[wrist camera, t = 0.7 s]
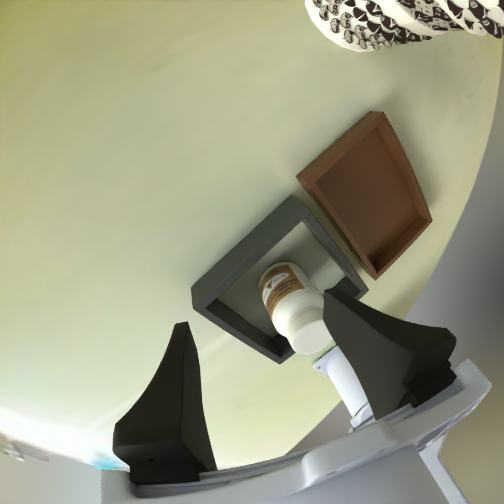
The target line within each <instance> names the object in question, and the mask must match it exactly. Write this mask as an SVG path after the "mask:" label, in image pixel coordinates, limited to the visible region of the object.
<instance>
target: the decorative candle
mask: <svg viewBox="0 0 504 504" xmlns="http://www.w3.org/2000/svg"><path fill="white" fill-rule="evenodd" d="M305 6H306V8H307V10H308V13H309V15H310V17H311V20H312V21H313V23H314V24H315V25H316V26H317V27H318V28H319V30H320V31H321V32H322V33H323V34H324V35H325V36H326V37H327V38H329V39H330V40H332V41H333V42H335V43H336V44H338V45H339V46H340V47H343V48H346V49H350V50H353V51H356V52H366V51H374V50H379V49H380V46H381V45H384V46H385V47H387V48H390V47H392V44H391V42H394V41H395V43H396V44H397V45H401V44H407V43H408V42H409V41H411V42H415V41H416V42H421V41H423V39H425V40H430V39H431V38H432V36H436V35H444V34H446V33H448V32H449V31H460V30H464V29H465V30H466V31H467V32H469V33H472V34H476V35H479V36H485V35H486V34H488V33H489V34H492V35H493V36H494V37H496V38H502V36H503V35H504V0H305Z"/></svg>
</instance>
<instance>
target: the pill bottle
mask: <svg viewBox="0 0 504 504" xmlns="http://www.w3.org/2000/svg"><path fill="white" fill-rule="evenodd" d="M258 288H259V293H260V295H261V297H262V300H263V302H264V305H265V307H266V309H267V311H268V314H269V316H270V318H271V320H272V322H273V324H274V326H275V328H276V330H277V331H278V332H279V333H280V334H281V335H283V336H285V337H287V339H288V341H289V343H290V344H291V346H292V348H293V350H294V351H295V352H296V353H298V354H301V355H310V354H314V353H317V352H319V351H321V350H322V349H324V348H325V347H326V346H328V345H329V344H330V342H331V341H332V340H333V338H332V337H331V335H330V333H329V331H328V329H327V328H326V325H325V323H324V321H323V306H324V298H323V297H322V295H321V294H320V293H319V291H318V290H317V289H316V287H315V286H314V285H313V283H312V282H311V281H310V280H309V278H308V277H307V276H306V274H305V273H304V272H303V271H302V269H301V268H300V267H299V266H298V265H296V264H294V263H291V262H280V263H277V264H274V265H272V266H271V267H269V268H268V269H267V270H266V271H265V272H264V273H263V274H262V276H261V278H260V280H259V284H258Z"/></svg>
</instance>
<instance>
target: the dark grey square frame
mask: <svg viewBox="0 0 504 504" xmlns="http://www.w3.org/2000/svg"><path fill="white" fill-rule="evenodd" d="M301 221H303V223H304V224H305V225H306V226H307V227H308V229H309V230H310V231H311V232H312V233H313V235H314V236H315V237H316V238H317V239H318V241H319V242H320V243H321V244H322V246H323V247H324V248H325V249H326V251H327V252H328V253H329V254H330V256H331V257H332V258H333V259H334V261H335V262H336V263H337V265H338V266H339V267H340V268H341V270H342V271H343V272H344V273H345V275H346V277H344V278H343V279H342V280H341V281H340V282H339V283H338V284H337V285H336V286H335V287H333V288H336V289H338V290H340V291H342V292H344V293H346V294H347V295H349V296H351V297H353V298H354V299H356V300H359V299H360V298H361V297H362V296H363V295H365V294H366V293H367V292H368V291H369V289H368V288H367V286H366V285H365V283H364V282H363V280H362V279H361V278H360V276H359V275H358V273H357V272H356V270H355V269H354V268H353V266H352V265H351V264H350V262H349V261H348V259H347V258H346V257H345V255H344V254H343V253H342V251H341V250H340V249H339V247H338V246H337V245H336V243H335V242H334V241H333V239H332V238H331V237H330V235H329V234H328V233H327V231H326V230H325V229H324V227H323V226H322V225H321V224H320V222H319V221H318V220H317V218H316V217H315V216H314V215H313V213H312V212H311V211H310V210H309V208H308V207H307V206H306V205H305V204H303V203H302V202H301V201H299V200H298V199H296V198H295V197H294V196H292V195H290V196H289V197H288V198H287V199H286V200H285V201H284V202H283V203H282V204H280V205H279V206H278V207H277V208H276V209H275V210H274V211H273V212H272V213H271V214H270V215H268V216H267V217H266V218H265V219H264V220H263V221H262V222H261V223H260V224H259V225H258V226H257V227H255V228H254V229H253V230H252V231H251V232H250V233H249V234H248V235H247V236H246V237H245V238H244V239H243V240H241V241H240V242H239V243H238V244H237V245H236V246H235V247H234V248H233V249H232V250H231V251H230V252H229V253H228V254H226V255H225V256H224V257H223V258H222V259H221V260H220V261H219V262H218V263H217V264H216V265H215V266H214V267H213V268H212V269H210V270H209V271H208V272H207V273H206V274H205V275H204V276H203V277H202V278H201V279H200V280H199V281H198V282H197V283H196V284H195V285H194V286H192V287H191V294H192V305H193V309H194V310H195V311H197V312H198V313H200V314H201V315H203V316H204V317H206V318H207V319H208V320H210V321H211V322H213V323H214V324H216V325H217V326H219V327H220V328H222V329H223V330H225V331H227V332H228V333H230V334H231V335H233V336H234V337H236V338H237V339H239V340H241V341H242V342H244V343H245V344H247V345H248V346H250V347H252V348H253V349H255V350H257V351H258V352H260V353H261V354H263V355H265V356H266V357H268V358H270V359H271V360H273V361H275V362H277V363H278V364H281V363H283V362H284V361H285V360H287V359H288V358H289V357H291V356H292V355H293V354H295V353H296V352H295V351H294V350H293V348H292V346H291V344H290V343H289V341H288V339H287V337H285V336H283V335H281V334H280V333H279V334H278V335H277V336H275V337H274V338H273V339H272V338H271V337H269V336H268V335H266V334H265V333H264V332H262V331H261V330H259V329H258V328H256V327H255V326H254V325H252V324H251V323H249V322H248V321H247V320H245V319H244V318H242V317H241V316H240V315H238V314H237V313H236V312H234V311H233V310H231V309H230V308H229V307H227V306H226V305H225V304H223V303H222V302H221V301H219V300H218V299H217V297H218V296H219V295H220V294H221V293H222V292H224V291H225V290H226V289H227V288H228V287H229V286H230V285H231V284H233V283H234V282H235V281H236V280H237V279H238V278H239V277H240V276H241V275H242V274H244V273H245V272H246V271H247V270H248V269H249V268H250V267H251V266H252V265H254V264H255V263H256V262H257V261H258V260H259V259H260V258H261V257H262V256H263V255H265V254H266V253H267V252H268V251H269V250H270V249H271V248H272V247H273V246H274V245H276V244H277V243H278V242H279V241H280V240H281V239H282V238H283V237H284V236H285V235H287V234H288V233H289V232H290V231H291V230H292V229H293V228H294V227H295V226H296V225H297V224H299V223H300V222H301ZM323 298H324V296H323Z"/></svg>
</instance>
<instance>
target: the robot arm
mask: <svg viewBox="0 0 504 504" xmlns="http://www.w3.org/2000/svg"><path fill="white" fill-rule="evenodd" d="M323 321H324V323H325V325H326V328H327V329H328V331H329V333H330V335H331V337H332V338H333V340H334V341H335V343H336V344H337V346H335V347H334V348H333V349H332V350H331V351H329V352H328V353H327V354H325V355H324V356H323V357H322V358H320V359H319V360H318V361H316V362H315V363H314V364H313V367H314V368H315V369H316V370H318V371H319V372H321V373H323V374H324V375H326V376H327V377H329V378H331V380H332V382H333V383H334V385H335V387H336V389H337V390H338V392H339V394H340V396H341V398H342V399H343V401H344V403H345V404H346V406H347V408H348V410H349V412H350V413H351V415H352V417H353V419H351V420H350V422H351V424H352V425H353V427H352V428H350V430H349V433H348V434H346V435H343V436H341V437H338V438H336V439H333V440H331V441H328V442H326V443H323V444H320V445H317V446H314V447H311V448H308V449H306V450H302V451H299V452H296V453H292V454H289V455H286V456H282V457H279V458H275V459H271V460H267V461H263V462H259V463H255V464H250V465H245V466H240V467H235V468H230V469H224V470H217V466H216V463H215V459H214V455H213V451H212V448H211V444H210V439H209V435H208V431H207V426H206V421H205V416H204V411H203V404H202V392H201V376H200V365H199V359H198V353H197V348H196V345H195V342H194V339H193V336H192V333H191V330H190V327H189V324H188V321H187V322H182V323H176V324H175V325H174V329H173V332H172V335H171V338H170V341H169V344H168V347H167V349H166V352H165V354H164V357H163V359H162V361H161V363H160V365H159V367H158V369H157V371H156V373H155V375H154V377H153V379H152V380H151V382H150V384H149V385H148V387H147V388H146V390H145V391H144V393H143V394H142V395H141V397H140V398H139V399H138V400H137V402H136V403H135V404H134V405H133V407H132V408H131V409H130V410H129V411H128V412H127V413H126V414H125V415H124V416H123V417H122V418H121V419H120V420H119V421H118V422H117V423H116V424H115V429H114V434H113V453H114V454H115V455H116V456H117V457H118V458H119V459H121V460H122V461H123V462H125V463H126V464H127V465H129V466H130V472H127V471H120V470H101V504H470V502H469V501H468V499H467V497H466V496H465V494H464V493H463V491H462V490H461V488H460V486H459V485H458V483H457V482H456V480H455V479H454V477H453V476H452V474H451V473H450V471H449V470H448V468H447V467H446V465H445V464H444V462H443V461H442V459H441V458H440V456H439V454H440V451H441V449H442V446H443V444H444V441H445V439H446V436H447V434H448V431H449V430H451V429H452V428H453V427H454V426H455V425H457V424H458V423H459V422H460V421H461V420H463V419H464V417H466V416H467V415H468V414H469V413H471V412H472V411H473V410H474V409H475V407H476V406H477V405H478V404H479V403H480V401H481V400H482V399H483V398H484V397H485V395H486V394H487V393H488V391H489V390H490V389H491V387H492V384H491V383H490V382H489V380H488V379H487V378H486V377H485V376H484V375H483V374H482V373H481V371H480V370H479V369H478V368H477V367H476V366H475V365H474V364H473V363H472V362H471V361H470V360H469V359H466V360H465V361H464V362H462V363H461V364H459V365H458V366H457V367H456V368H455V369H454V370H453V371H452V370H451V369H450V366H451V363H450V362H449V361H448V359H449V358H450V356H451V354H452V352H453V350H454V348H455V345H456V337H455V336H454V335H453V334H452V333H451V332H450V331H449V330H448V329H447V328H441V327H430V326H425V325H419V324H415V323H411V322H407V321H404V320H400V319H397V318H394V317H392V316H389V315H387V314H384V313H382V312H380V311H378V310H375V309H373V308H371V307H369V306H367V305H365V304H363V303H362V302H360V301H358V300H356V299H354V298H353V297H351V296H349V295H347V294H346V293H344V292H342V291H340V290H338V289H336V288H331V289H327V290H324V306H323Z"/></svg>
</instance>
